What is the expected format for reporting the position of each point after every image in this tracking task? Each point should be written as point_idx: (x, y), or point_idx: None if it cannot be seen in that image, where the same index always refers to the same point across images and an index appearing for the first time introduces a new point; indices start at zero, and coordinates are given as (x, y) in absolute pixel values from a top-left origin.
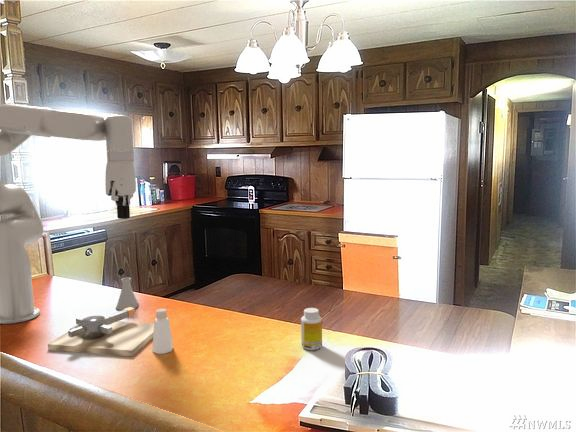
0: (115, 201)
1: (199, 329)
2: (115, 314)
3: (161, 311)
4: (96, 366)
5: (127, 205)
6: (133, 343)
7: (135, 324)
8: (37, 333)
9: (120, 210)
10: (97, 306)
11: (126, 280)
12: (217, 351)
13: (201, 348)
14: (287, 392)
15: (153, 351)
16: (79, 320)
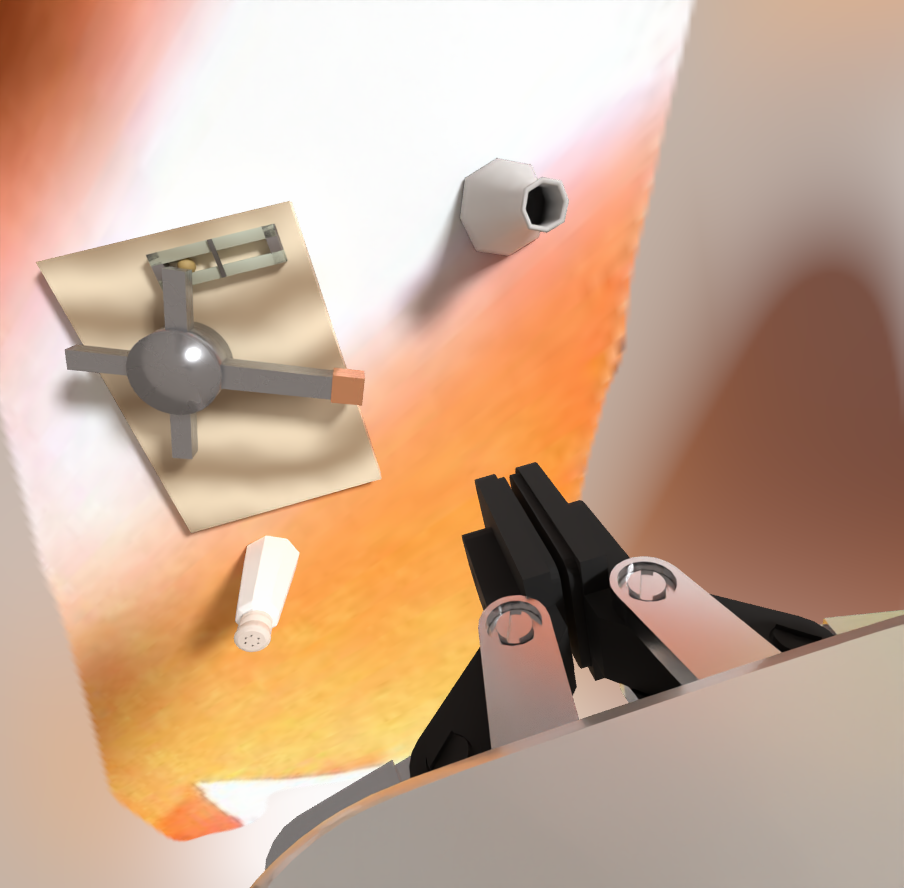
0: (429, 728)
1: (423, 551)
2: (278, 386)
3: (243, 648)
4: (93, 489)
5: (591, 669)
6: (226, 505)
7: (339, 408)
8: (101, 55)
9: (481, 600)
10: (466, 52)
11: (526, 225)
12: (332, 651)
13: (327, 619)
14: (258, 802)
15: (246, 550)
16: (163, 294)
